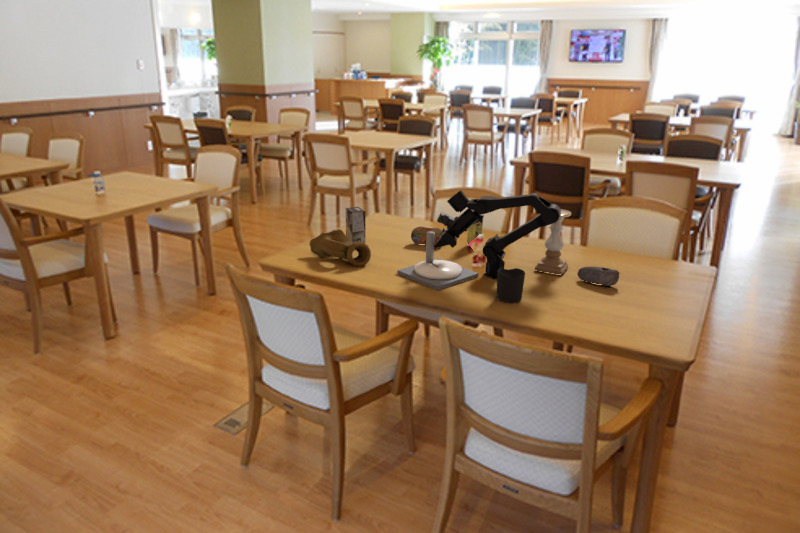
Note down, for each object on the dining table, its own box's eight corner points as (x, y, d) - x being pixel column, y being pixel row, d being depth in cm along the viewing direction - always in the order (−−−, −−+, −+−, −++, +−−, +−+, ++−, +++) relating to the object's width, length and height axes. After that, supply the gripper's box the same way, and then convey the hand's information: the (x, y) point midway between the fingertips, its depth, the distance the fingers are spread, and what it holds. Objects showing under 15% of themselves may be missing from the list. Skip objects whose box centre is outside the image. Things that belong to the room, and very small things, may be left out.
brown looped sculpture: (353, 232, 256) (376, 237, 237) (346, 261, 257) (369, 269, 238) (313, 223, 247) (334, 228, 228) (306, 254, 247) (326, 261, 228)
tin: (410, 244, 266) (411, 226, 263) (412, 242, 269) (413, 224, 266) (443, 248, 262) (444, 229, 259) (445, 246, 265) (446, 227, 262)
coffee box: (366, 247, 261) (366, 211, 255) (352, 248, 258) (352, 212, 253) (358, 241, 269) (358, 206, 263) (345, 242, 266) (344, 207, 261)
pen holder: (503, 291, 215) (506, 265, 212) (527, 298, 209) (530, 271, 206) (490, 298, 208) (492, 272, 205) (514, 306, 203) (516, 278, 199)
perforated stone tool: (574, 281, 226) (576, 264, 224) (579, 277, 230) (581, 260, 228) (613, 291, 218) (616, 273, 216) (618, 286, 222) (621, 269, 220)
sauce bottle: (476, 249, 261) (479, 205, 254) (464, 246, 264) (466, 202, 258) (483, 245, 266) (486, 202, 259) (471, 243, 269) (474, 200, 263)
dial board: (478, 276, 229) (478, 272, 228) (437, 290, 215) (438, 285, 214) (437, 262, 244) (437, 258, 243) (397, 273, 230) (397, 269, 229)
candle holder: (534, 271, 236) (539, 212, 228) (541, 263, 245) (547, 206, 237) (561, 276, 231) (568, 216, 223) (568, 268, 240) (575, 210, 232)
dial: (464, 266, 235) (466, 233, 230) (457, 281, 218) (459, 246, 214) (420, 261, 239) (421, 228, 234) (409, 276, 223) (410, 241, 218)
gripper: (451, 200, 235) (422, 226, 240) (448, 212, 217) (417, 239, 222) (470, 220, 236) (441, 246, 241) (469, 233, 219) (438, 260, 224)
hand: (434, 247), depth 232 cm, fingers closed, pressing on dial
